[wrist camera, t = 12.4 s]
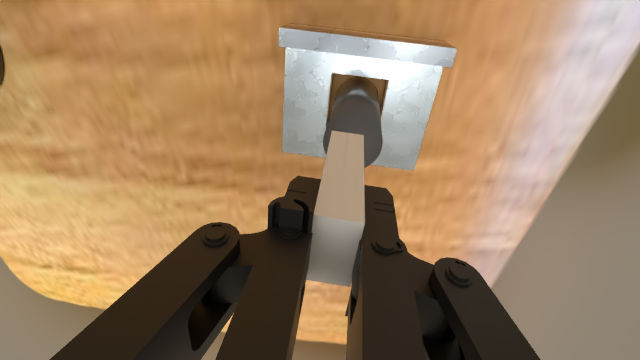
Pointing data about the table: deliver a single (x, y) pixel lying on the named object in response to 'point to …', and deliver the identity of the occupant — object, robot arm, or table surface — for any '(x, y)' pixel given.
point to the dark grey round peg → (357, 116)
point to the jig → (367, 61)
